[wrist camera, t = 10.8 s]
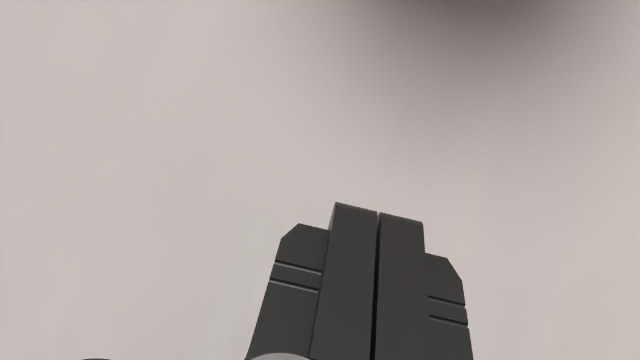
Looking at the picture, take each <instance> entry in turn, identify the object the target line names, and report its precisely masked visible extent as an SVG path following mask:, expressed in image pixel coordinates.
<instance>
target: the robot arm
mask: <svg viewBox="0 0 640 360" xmlns="http://www.w3.org/2000/svg"><path fill="white" fill-rule="evenodd" d="M464 307H465V299H464V292H463V285H462V280H461V279H460V277H459V276H458V274H457V273H456V271H455V270H454V268H453V267H452V265H451V264H450V262H449V261H448V259H447V258H445V257H440V256H436V255H432V254H428V253H425V246H424V231H423V223H422V222H420V221H416V220H411V219H407V218H403V217H399V216H394V215H390V214H386V213H382V212H380V213H379V214H378V217H377V211H372V210H368V209H364V208H360V207H355V206H351V205H347V204H343V203H338V202H335V205H334V208H333V212H332V216H331V220H330V223H329V227H328V230H325V229H321V228H317V227H312V226H308V225H304V224H300V223H299V224H297V225H296V226H295V227H294V228H293V229H292V230H290V231H289V232H288V233H287V234H286V235H285V236H284V237H282V238H281V241H280V245H279V248H278V251H277V255H276V258H275V262H274V265H273V268H272V272H271V275H270V279H269V282H268V286H267V289H266V292H265V296H264V299H263V303H262V306H261V310H260V313H259V316H258V320H257V323H256V327H255V330H254V334H253V337H252V340H251V344H250V347H249V351H248V353H247V355H246V358H245V359H244V360H473V353H472V347H471V340H470V333H469V328H467V326H468V319H467V312H466V309H465V308H464ZM84 360H108V359H84Z"/></svg>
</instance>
